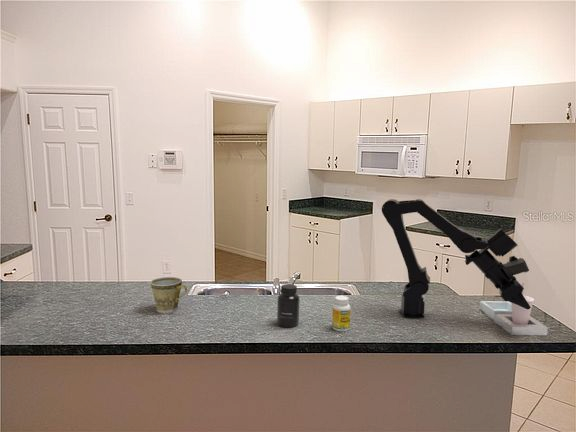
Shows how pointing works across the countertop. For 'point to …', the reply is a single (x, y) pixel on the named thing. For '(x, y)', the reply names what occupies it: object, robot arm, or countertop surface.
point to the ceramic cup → (167, 293)
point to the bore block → (520, 326)
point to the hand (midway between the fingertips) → (526, 304)
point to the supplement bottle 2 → (341, 314)
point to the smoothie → (521, 311)
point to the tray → (495, 308)
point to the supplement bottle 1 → (288, 306)
